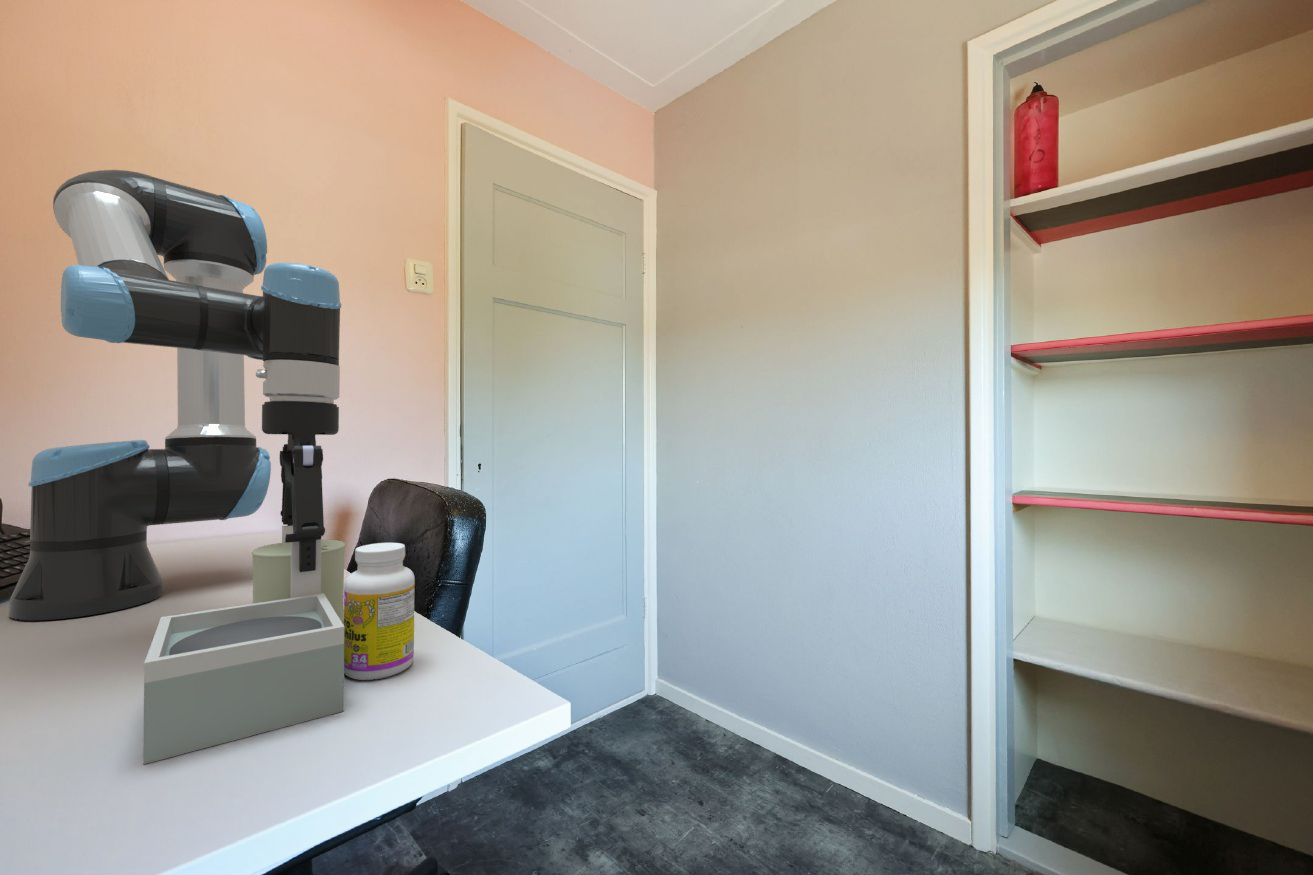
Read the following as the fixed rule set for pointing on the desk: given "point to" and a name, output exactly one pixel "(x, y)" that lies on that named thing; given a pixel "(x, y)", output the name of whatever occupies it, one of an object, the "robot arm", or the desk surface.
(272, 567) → the can
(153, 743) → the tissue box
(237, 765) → the desk surface
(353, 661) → the supplement bottle
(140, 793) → the desk surface
